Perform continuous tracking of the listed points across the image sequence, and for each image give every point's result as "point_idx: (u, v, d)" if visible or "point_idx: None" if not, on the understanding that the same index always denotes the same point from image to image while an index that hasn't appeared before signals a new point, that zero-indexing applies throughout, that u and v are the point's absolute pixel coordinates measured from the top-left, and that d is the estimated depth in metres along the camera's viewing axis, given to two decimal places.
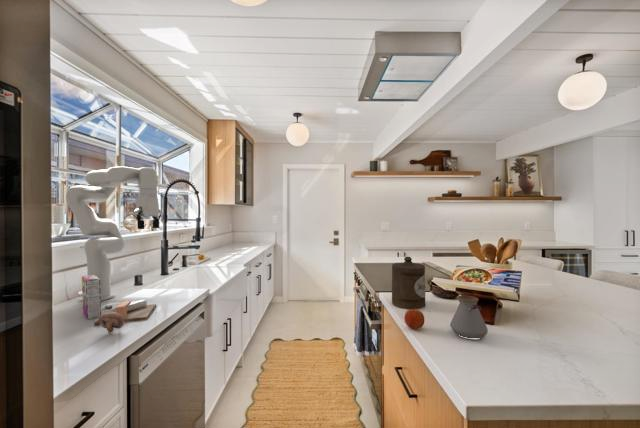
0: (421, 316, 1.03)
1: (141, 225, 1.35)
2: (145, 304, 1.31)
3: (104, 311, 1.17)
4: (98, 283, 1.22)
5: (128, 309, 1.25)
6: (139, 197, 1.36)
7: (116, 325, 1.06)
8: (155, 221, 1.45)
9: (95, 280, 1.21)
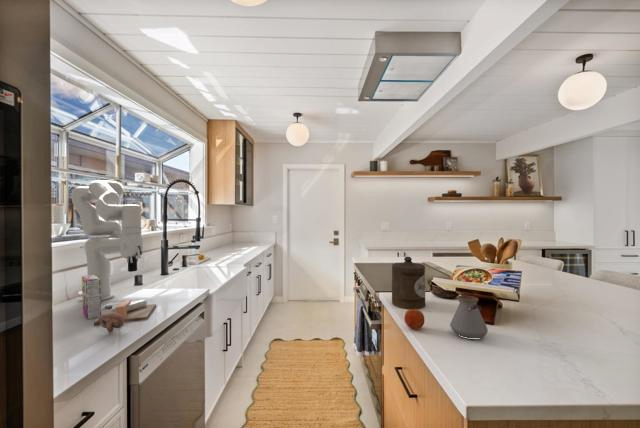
0: (421, 316, 1.03)
1: (135, 267, 1.34)
2: (145, 304, 1.31)
3: (104, 311, 1.17)
4: (98, 283, 1.22)
5: (128, 309, 1.25)
6: (136, 236, 1.31)
7: (116, 325, 1.06)
8: None
9: (95, 280, 1.21)
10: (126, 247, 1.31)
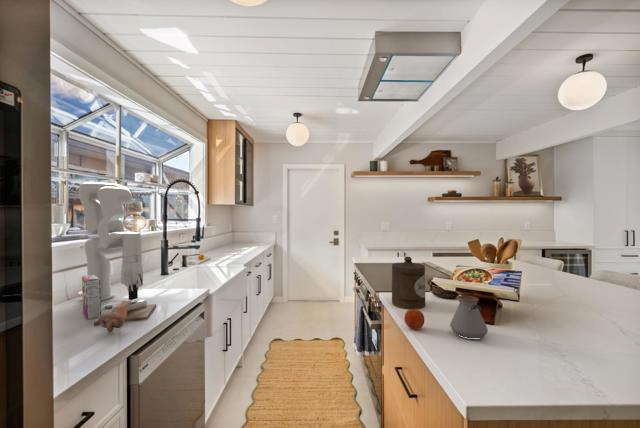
0: (421, 316, 1.03)
1: None
2: (145, 304, 1.31)
3: (104, 311, 1.17)
4: (98, 283, 1.22)
5: (128, 309, 1.25)
6: (136, 264, 1.31)
7: (116, 325, 1.06)
8: None
9: (95, 280, 1.21)
10: (127, 275, 1.31)
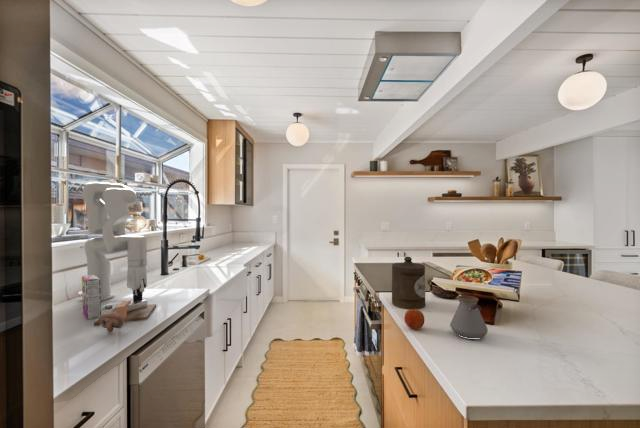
0: (421, 316, 1.03)
1: (140, 299, 1.33)
2: (146, 304, 1.31)
3: (104, 311, 1.17)
4: (98, 283, 1.22)
5: (128, 309, 1.25)
6: (140, 269, 1.29)
7: (116, 325, 1.06)
8: None
9: (95, 280, 1.21)
10: (131, 280, 1.30)
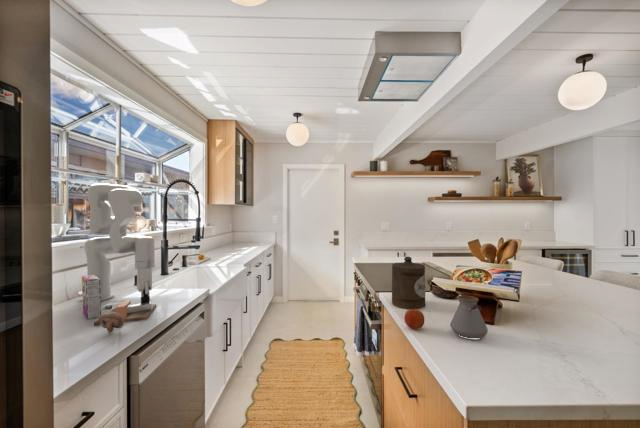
0: (421, 316, 1.03)
1: (147, 301, 1.29)
2: (149, 307, 1.27)
3: (102, 311, 1.17)
4: (98, 283, 1.22)
5: (129, 311, 1.22)
6: (144, 271, 1.26)
7: (116, 325, 1.06)
8: None
9: (95, 280, 1.21)
10: (137, 281, 1.28)
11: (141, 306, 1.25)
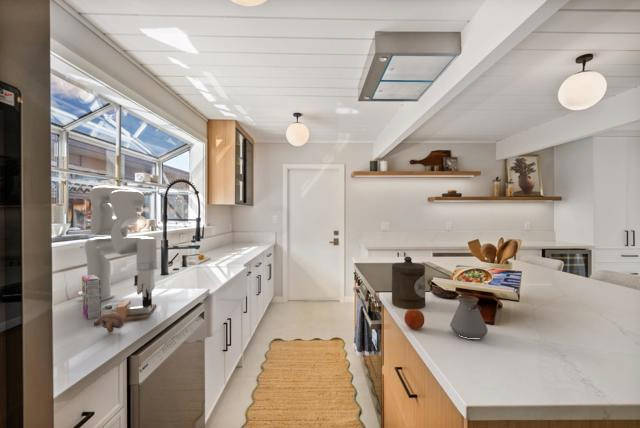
0: (421, 316, 1.03)
1: None
2: (146, 311, 1.21)
3: (101, 310, 1.18)
4: (98, 283, 1.22)
5: None
6: (142, 273, 1.21)
7: (116, 325, 1.06)
8: None
9: (95, 280, 1.21)
10: None
11: (138, 309, 1.21)
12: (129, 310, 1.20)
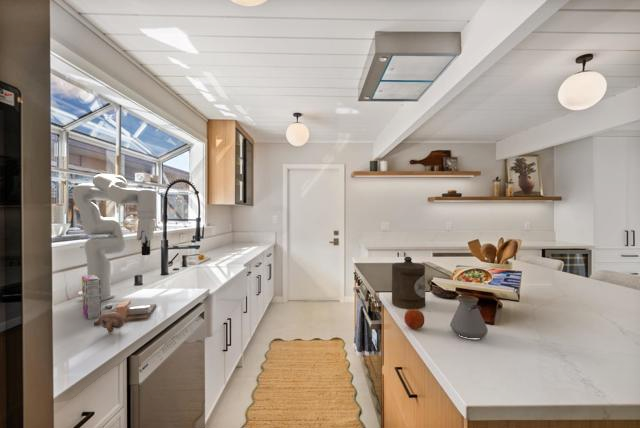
0: (421, 316, 1.03)
1: (147, 251, 1.35)
2: (146, 311, 1.21)
3: (101, 310, 1.18)
4: (98, 283, 1.22)
5: None
6: (141, 221, 1.31)
7: (116, 325, 1.06)
8: None
9: (95, 280, 1.21)
10: None
11: (138, 309, 1.21)
12: (129, 310, 1.20)
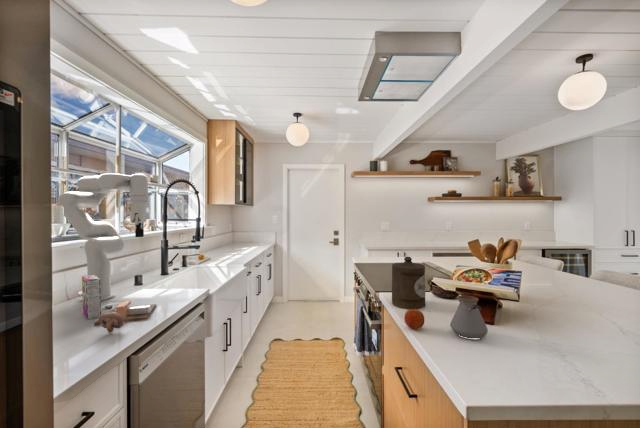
0: (421, 316, 1.03)
1: (140, 233, 1.42)
2: (146, 311, 1.21)
3: (101, 310, 1.18)
4: (98, 283, 1.22)
5: None
6: (134, 204, 1.38)
7: (116, 325, 1.06)
8: None
9: (95, 280, 1.21)
10: None
11: (138, 309, 1.21)
12: (129, 310, 1.20)
